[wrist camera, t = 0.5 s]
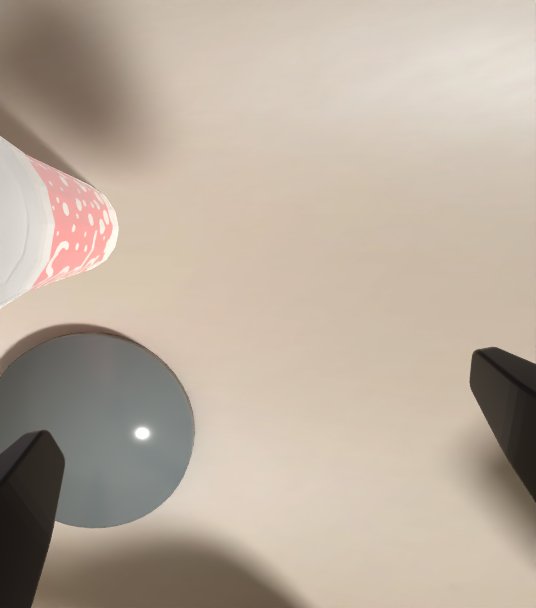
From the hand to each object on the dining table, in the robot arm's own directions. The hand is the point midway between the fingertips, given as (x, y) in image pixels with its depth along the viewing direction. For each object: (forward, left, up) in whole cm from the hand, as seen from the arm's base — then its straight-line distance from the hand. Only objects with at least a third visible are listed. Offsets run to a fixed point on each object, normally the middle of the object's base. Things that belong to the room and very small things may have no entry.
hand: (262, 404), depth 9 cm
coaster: (-7, +9, -13) cm, 18 cm away
